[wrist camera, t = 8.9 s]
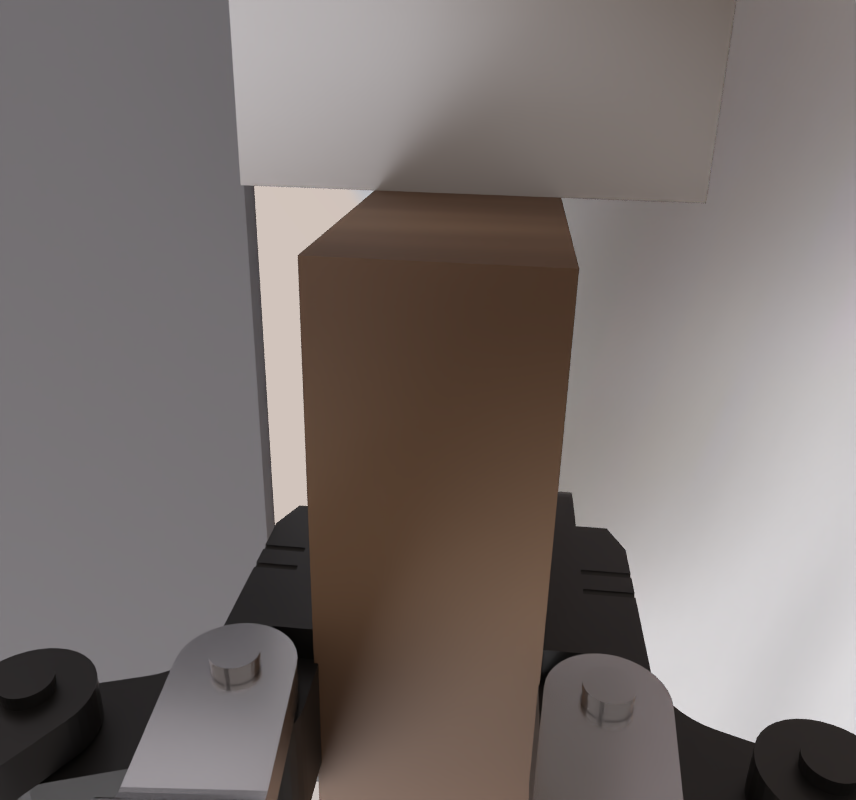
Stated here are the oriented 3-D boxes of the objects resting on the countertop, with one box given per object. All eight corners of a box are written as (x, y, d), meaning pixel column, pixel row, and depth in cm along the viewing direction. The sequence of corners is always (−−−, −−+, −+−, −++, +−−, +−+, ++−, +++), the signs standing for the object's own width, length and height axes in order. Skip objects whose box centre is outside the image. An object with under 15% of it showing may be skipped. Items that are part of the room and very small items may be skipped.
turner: (602, 844, 15) (630, 1131, 11) (291, 809, 16) (208, 1069, 12) (823, -670, 8) (1163, -1513, 4) (206, -632, 8) (-114, -1326, 4)
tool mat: (-400, -272, 14) (-437, -286, 13) (225, -282, 13) (212, -297, 12) (-101, 715, 23) (-116, 732, 22) (288, 754, 22) (282, 773, 21)
